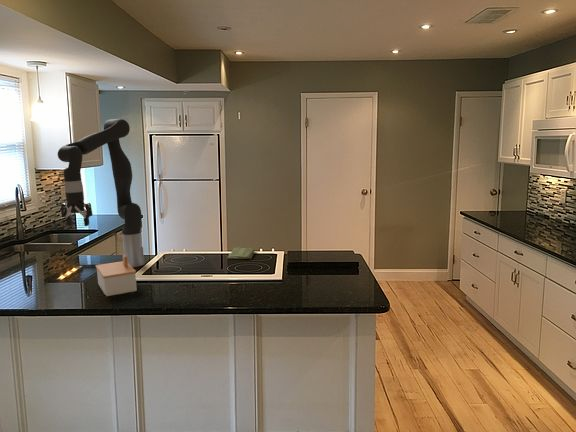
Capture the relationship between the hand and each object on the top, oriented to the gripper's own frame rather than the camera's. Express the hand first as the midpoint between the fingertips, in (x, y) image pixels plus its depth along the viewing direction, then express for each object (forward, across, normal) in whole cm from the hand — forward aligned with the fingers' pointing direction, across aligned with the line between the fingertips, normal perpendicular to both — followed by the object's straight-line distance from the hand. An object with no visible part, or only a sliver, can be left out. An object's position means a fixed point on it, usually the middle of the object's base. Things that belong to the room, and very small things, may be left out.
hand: (78, 225), depth 225 cm
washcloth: (+29, -59, -56) cm, 86 cm away
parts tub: (+27, -19, +4) cm, 34 cm away
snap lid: (+20, -19, +4) cm, 28 cm away
